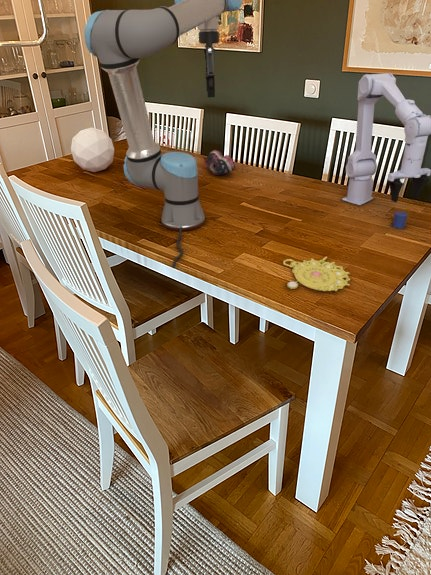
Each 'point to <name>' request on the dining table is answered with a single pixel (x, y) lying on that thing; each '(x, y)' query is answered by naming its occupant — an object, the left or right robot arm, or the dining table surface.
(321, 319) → the dining table surface
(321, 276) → the decorative object
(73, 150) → the sphere
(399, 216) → the canister
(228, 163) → the athletic shoe
